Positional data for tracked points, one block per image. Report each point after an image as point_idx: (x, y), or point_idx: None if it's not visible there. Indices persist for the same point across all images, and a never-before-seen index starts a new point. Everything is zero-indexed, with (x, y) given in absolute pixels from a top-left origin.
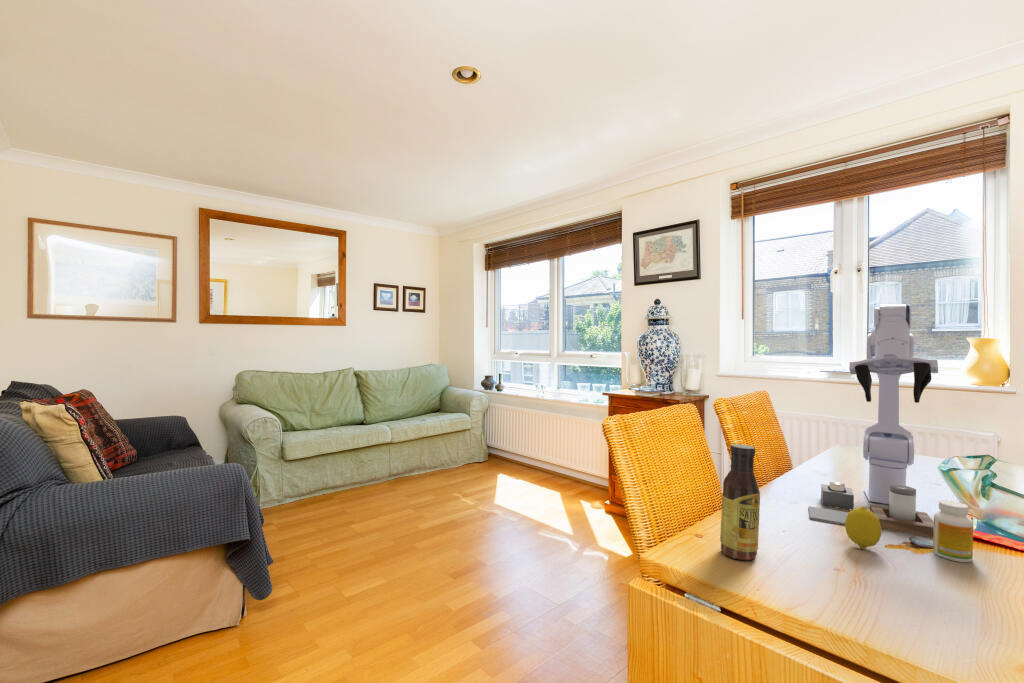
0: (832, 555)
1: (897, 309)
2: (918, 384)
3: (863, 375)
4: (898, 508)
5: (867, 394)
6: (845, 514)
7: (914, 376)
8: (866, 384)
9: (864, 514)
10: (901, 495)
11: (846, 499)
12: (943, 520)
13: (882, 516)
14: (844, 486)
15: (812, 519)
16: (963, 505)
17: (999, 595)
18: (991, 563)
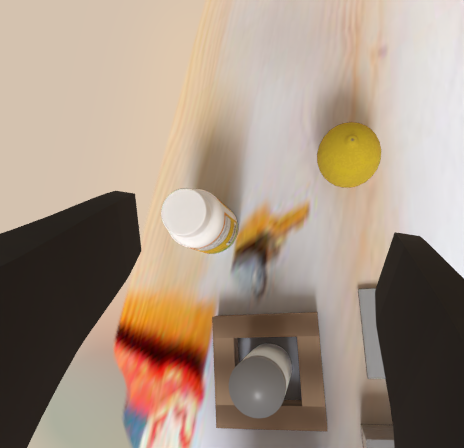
0: (391, 104)
1: None
2: (47, 221)
3: None
4: (273, 352)
5: (411, 239)
6: (378, 357)
7: (8, 262)
8: (450, 287)
9: (349, 125)
10: (263, 356)
11: (381, 433)
12: (212, 194)
13: (305, 336)
14: None
15: None
16: (168, 210)
17: (189, 111)
18: (168, 233)
